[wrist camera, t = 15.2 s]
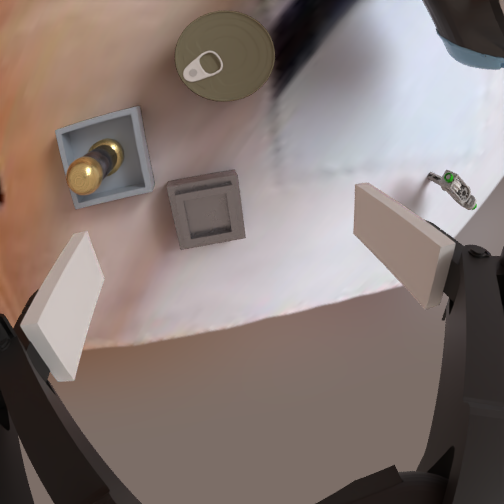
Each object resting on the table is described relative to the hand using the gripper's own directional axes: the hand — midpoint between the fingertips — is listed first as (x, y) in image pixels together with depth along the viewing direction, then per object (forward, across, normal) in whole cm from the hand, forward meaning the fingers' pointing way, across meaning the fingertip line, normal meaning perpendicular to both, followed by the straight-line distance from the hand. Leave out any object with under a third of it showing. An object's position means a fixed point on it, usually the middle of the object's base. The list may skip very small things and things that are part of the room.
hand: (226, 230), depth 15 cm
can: (+33, +4, +10) cm, 35 cm away
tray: (+33, -14, 0) cm, 35 cm away
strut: (+32, -14, 0) cm, 35 cm away
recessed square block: (+33, -1, -11) cm, 34 cm away
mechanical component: (+33, +41, -11) cm, 54 cm away
